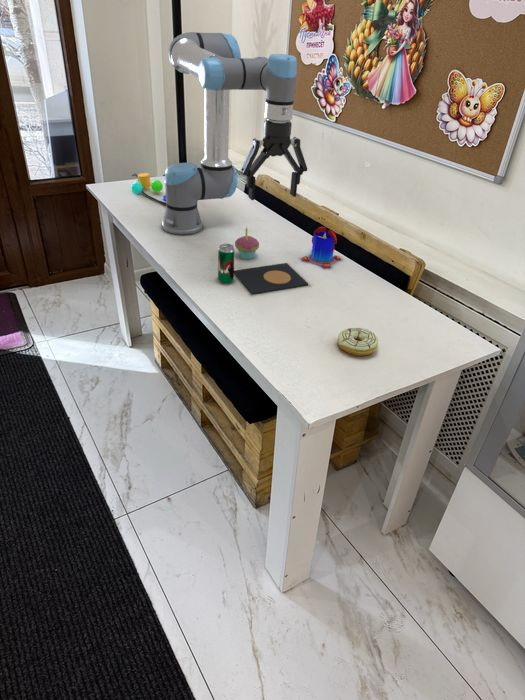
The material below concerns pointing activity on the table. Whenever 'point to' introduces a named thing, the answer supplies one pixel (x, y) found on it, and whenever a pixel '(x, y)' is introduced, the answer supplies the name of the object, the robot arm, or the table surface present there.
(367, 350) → the decorated donut
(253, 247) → the cupcake
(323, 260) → the fantasy tower
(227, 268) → the soda can
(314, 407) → the table surface
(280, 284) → the mat
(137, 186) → the shape set
